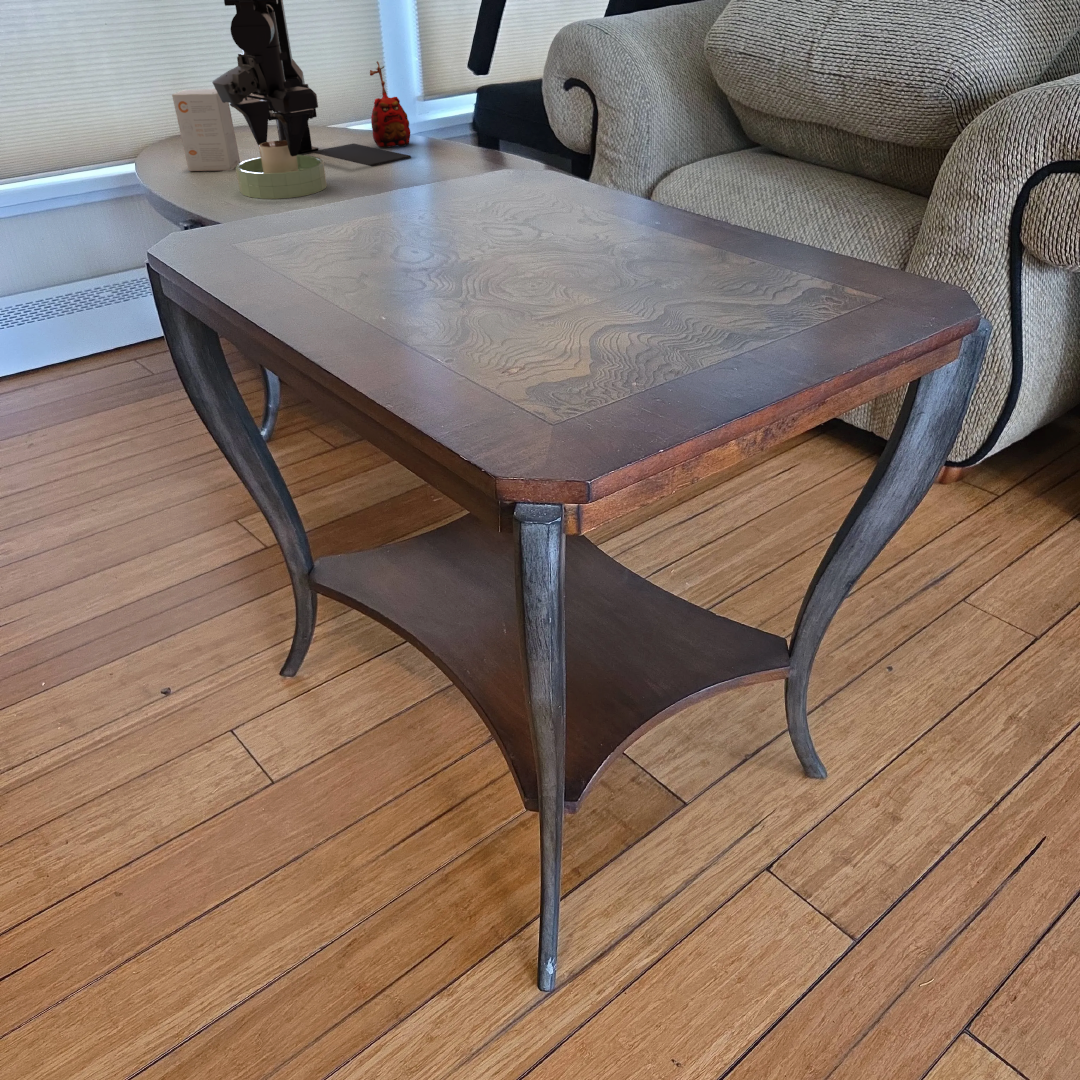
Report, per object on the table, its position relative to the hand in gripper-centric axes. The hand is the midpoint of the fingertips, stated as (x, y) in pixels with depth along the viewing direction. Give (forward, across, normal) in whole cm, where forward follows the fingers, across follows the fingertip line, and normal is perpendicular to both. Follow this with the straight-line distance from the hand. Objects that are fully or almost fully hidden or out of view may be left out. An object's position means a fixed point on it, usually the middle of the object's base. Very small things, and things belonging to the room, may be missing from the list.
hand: (278, 152), depth 155 cm
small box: (+7, -26, +2) cm, 27 cm away
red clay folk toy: (+7, -16, +36) cm, 40 cm away
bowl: (+6, 0, 0) cm, 6 cm away
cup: (+6, 0, 0) cm, 6 cm away
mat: (+6, -13, +24) cm, 28 cm away
